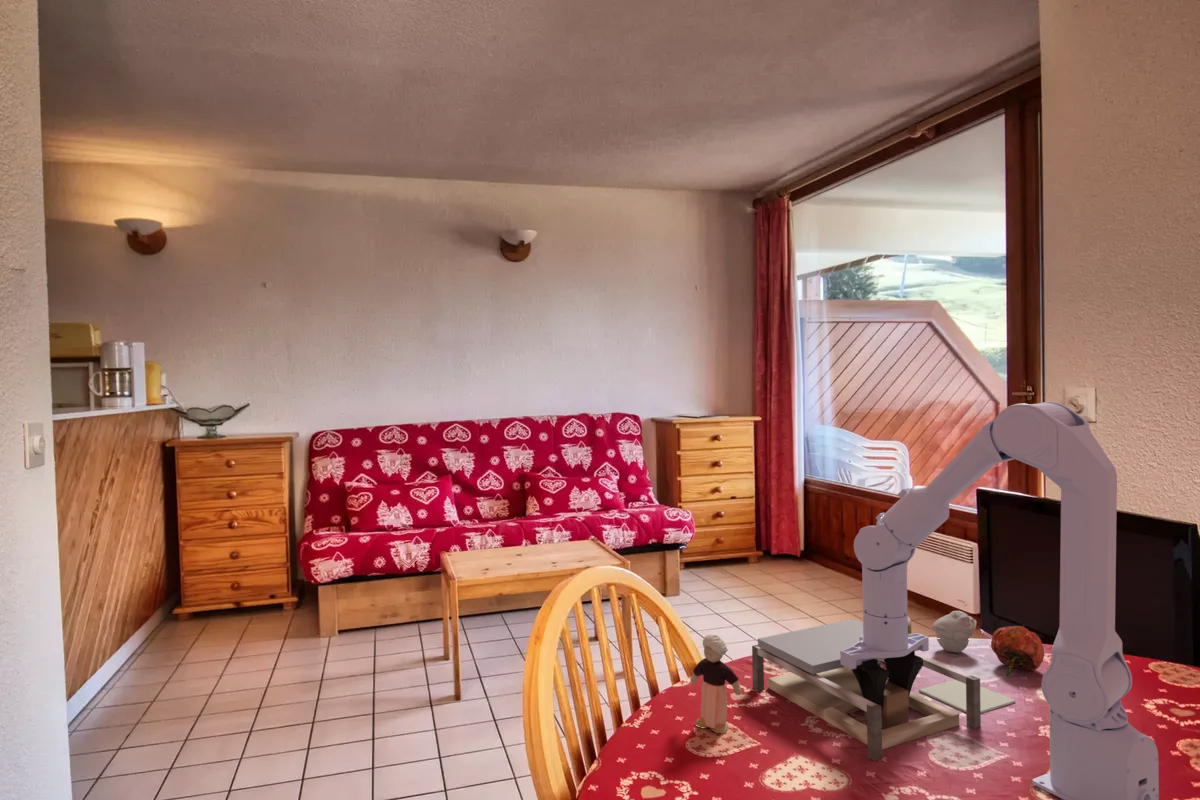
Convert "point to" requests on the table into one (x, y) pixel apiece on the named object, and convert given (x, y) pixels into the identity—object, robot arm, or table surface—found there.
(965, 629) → the frog figurine
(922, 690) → the rubber mat
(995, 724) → the table surface
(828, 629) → the sliding cover
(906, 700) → the walnut block
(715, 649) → the grandmother figurine
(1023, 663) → the red rounded fruit
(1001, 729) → the table surface
